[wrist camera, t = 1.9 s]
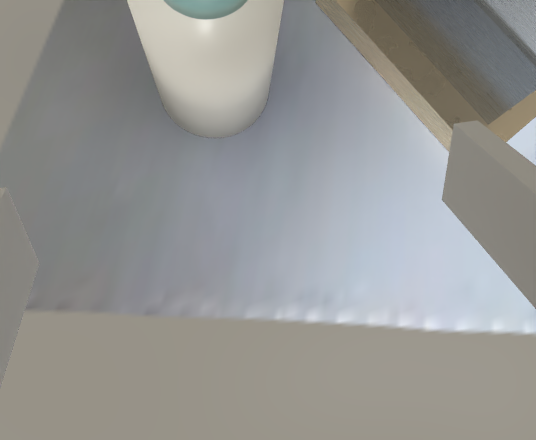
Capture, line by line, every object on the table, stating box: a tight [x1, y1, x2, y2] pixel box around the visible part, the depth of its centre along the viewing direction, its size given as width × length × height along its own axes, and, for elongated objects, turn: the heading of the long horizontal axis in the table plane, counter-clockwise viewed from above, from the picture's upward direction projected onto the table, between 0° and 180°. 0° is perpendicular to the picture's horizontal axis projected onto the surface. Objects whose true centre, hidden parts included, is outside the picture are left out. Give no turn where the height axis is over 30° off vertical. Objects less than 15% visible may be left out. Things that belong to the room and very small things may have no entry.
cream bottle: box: [127, 0, 284, 138], centre depth 26 cm, size 7×7×12 cm
